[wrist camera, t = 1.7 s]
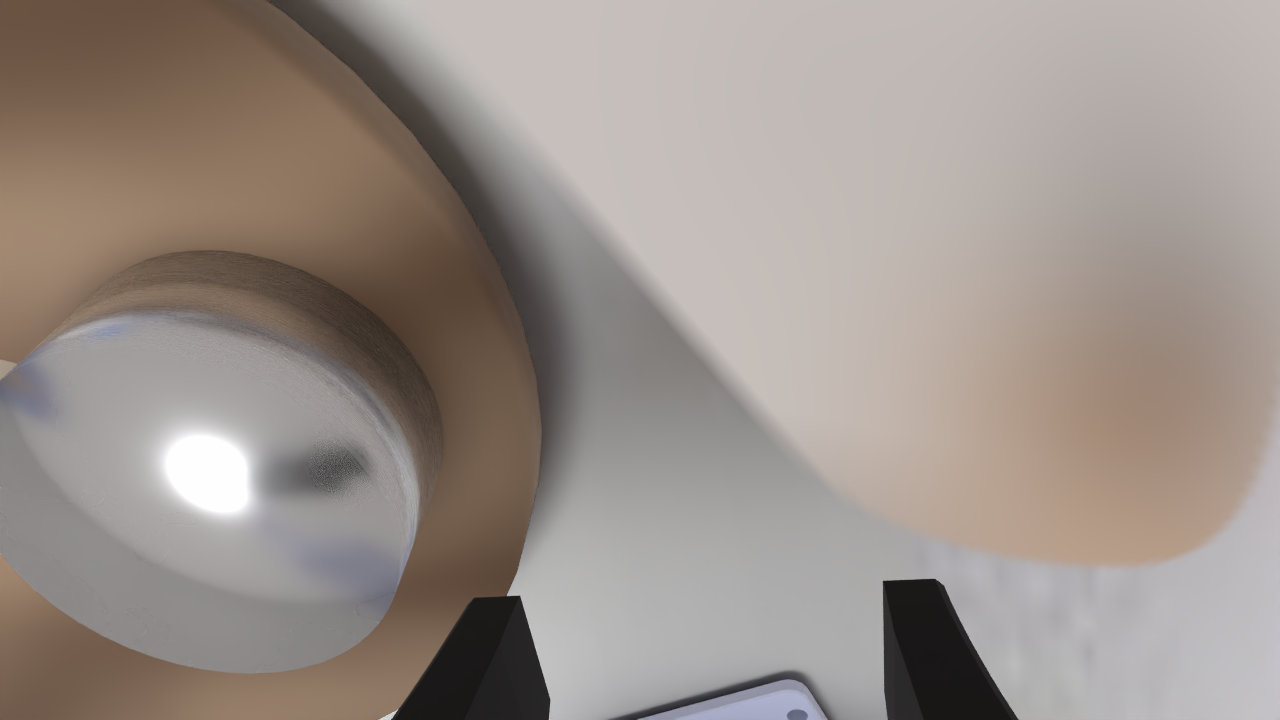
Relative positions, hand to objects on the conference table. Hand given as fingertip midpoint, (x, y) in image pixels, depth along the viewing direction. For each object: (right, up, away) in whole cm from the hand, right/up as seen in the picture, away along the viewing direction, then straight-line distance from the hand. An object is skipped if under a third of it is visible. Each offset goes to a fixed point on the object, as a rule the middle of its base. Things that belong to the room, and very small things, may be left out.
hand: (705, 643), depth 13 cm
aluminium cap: (-8, +3, +6) cm, 10 cm away
